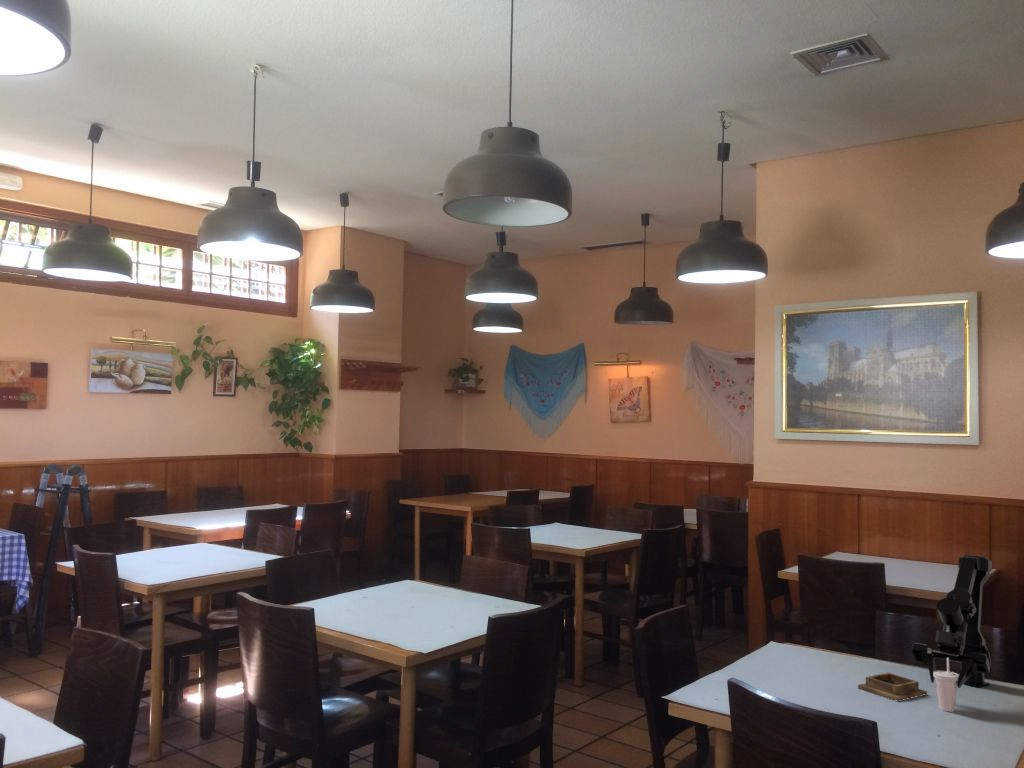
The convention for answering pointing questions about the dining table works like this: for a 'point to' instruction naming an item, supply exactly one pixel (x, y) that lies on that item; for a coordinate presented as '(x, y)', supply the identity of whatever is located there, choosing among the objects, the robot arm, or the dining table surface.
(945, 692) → the smoothie
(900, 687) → the bottle stand
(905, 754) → the dining table surface
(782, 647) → the dining table surface
